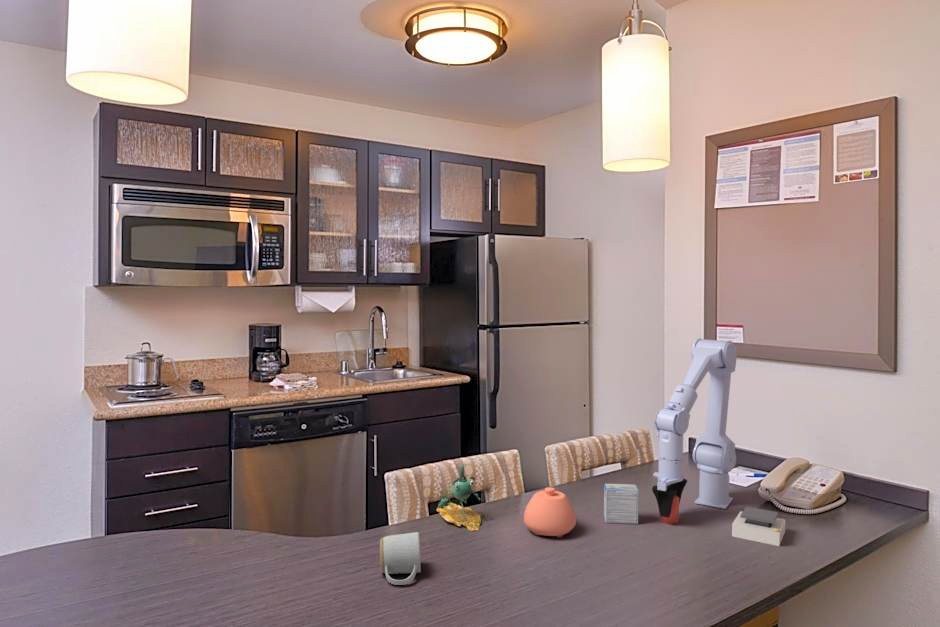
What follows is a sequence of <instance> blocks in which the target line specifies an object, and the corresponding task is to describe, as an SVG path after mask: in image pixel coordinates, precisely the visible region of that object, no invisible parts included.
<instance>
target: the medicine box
mask: <svg viewBox="0 0 940 627" xmlns="http://www.w3.org/2000/svg"><path fill="white" fill-rule="evenodd" d="M603 487H604V488H603V490H604V491H603V517H604V521H605V522H604V523H605V524H629V525H633V524H635V525H638V524H639V492H640V490H639V489H638V486H637V485H636V484H631V483H630V484H628V483H603Z"/></svg>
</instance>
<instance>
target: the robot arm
mask: <svg viewBox="0 0 940 627" xmlns="http://www.w3.org/2000/svg"><path fill="white" fill-rule="evenodd" d="M690 354H691V355H690V356H691V362H690V365H689V368H688V370H687V372H686V375H685V377H684V380H683V383H681V384H678V385H676V386H675V388H674V390H673V391H672V393H671V395H670V397H669V399H668V401H667V403H666V405H665V407H663V408H662V409H659V410H658V411H657V412H656V414H655V416H654V417H655V418H654V420H653V424H654V428H655V430H656V436H657V438H658V466H657V467H658V471H655V472H653V473H652V474H653V477H655V478H657V485H653V486H652V487H651V490H652V493H653V495H654V496H655V500H656V503H657V507H658V511H659V517H660V516H662V517H667V518H669V517H670V514H671V508H672V503H673V499H674V497H675V495H676V496H678V497H679V505H680V504H681V499H682V495H683V491H684V489H685V487H686V485H687V483H688V479H685V478H684V474H683V472H684V471H683V470H684V469H683V468H684V466H683V465H684V463H683V460H684V458H683V456H684V455H683V454H684V434H685V433H686V432H687V430H688V428H689V425H690V419H691V414H690V412H691V411H692V409H693V407H694V405H695V404H696V403H695V402H697V399H698V396H699V395H698V393H697V389H698V388H699V386H700V384H701V383H702V381H703V380H704V378H705V377H706V375H707V374H708V373H709V375H710V376H709V389H708V397H707V410H706V411H707V412H706V421H705V432H703V433H702V434H700V435H698V436H697V437H696V438H695V439H696V440H695V444H694V448H693V450H692V460H693V462H694V464H695V465H696V468H697V469H699V476H698V477H699V479H698V480H699V483H698V485H699V486H698V488H699V489H698V497H697V498H696V499H695V500H694V504H697V505H702V506H708V507H713V508H719V509H724V510H725V509H727V508H728V506H729V505H730V504H731V502H732V501H733V499H734V498H733V497H732V496H730V474H729V473H730V472H731V471H733V470H734V468H735V466H736V464H737V455H736V443H735V442H734V441H733V440H732V439H731V438H730V437H729V436H728V435H727V433H726V432H727V423H728V411H729V410H728V409H729V401H730V388H731V376H732V373H734V372H736V367H737V356H738V349H737V348H736V345H735V343H734V342H733V341H732V340H715V339H704V338H703V339H702V338H697V339H695V341H694V342H693V344H692V347H691V348H690Z"/></svg>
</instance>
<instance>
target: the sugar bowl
mask: <svg viewBox="0 0 940 627" xmlns="http://www.w3.org/2000/svg"><path fill="white" fill-rule="evenodd" d="M576 517H577V516H576V514H575V511H574V507H573V505H572V504H571V501H570V500H569V498H568V497H567V495H566V494H565V493H563V492H562V491H558V490H556V489H555V488H554V487H552V486H548V487H544V490H539V491H536V492H535V493H534V494H532V497H531V498H530V500H529V501H528V504H527V505H526V507H525V510H524V514H523V522H524V525H525V526H526V527H527V529H529V531H530V532H532V533H533V534H534V535H535V534H536V536H547V537H555V536H556V538H562V537H563V536H564V535H567V534H569V533H570V532H571V531H572V530H573V529H574V527H575V526H576V523H577V521H576V520H577V519H576Z"/></svg>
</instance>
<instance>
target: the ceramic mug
mask: <svg viewBox="0 0 940 627" xmlns="http://www.w3.org/2000/svg"><path fill="white" fill-rule="evenodd" d="M420 544H421V542H420V533H419V532H418V531H417V532H416V531H415V532H409V533H402V534H392V535H386V536H383V537H382V538H380V539H379V564H380V571H381V572H382V573H383V574H385V578H386V580H387V582H388V583H389V584H390V583H391V584H390V585H392V584H395V585H403V584H408V585H409V584H411V583H412V582H413V581H414V579H415V577H416V575H417V574H420V573H421V546H420ZM399 573H400V574H410V575H409V576H408V577H407V578H405V579H395V578H392V577H391V576H390V575H397V574H399Z"/></svg>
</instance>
